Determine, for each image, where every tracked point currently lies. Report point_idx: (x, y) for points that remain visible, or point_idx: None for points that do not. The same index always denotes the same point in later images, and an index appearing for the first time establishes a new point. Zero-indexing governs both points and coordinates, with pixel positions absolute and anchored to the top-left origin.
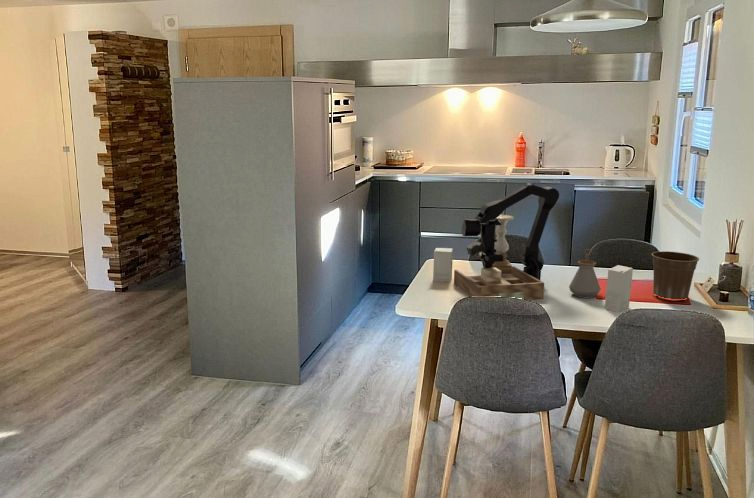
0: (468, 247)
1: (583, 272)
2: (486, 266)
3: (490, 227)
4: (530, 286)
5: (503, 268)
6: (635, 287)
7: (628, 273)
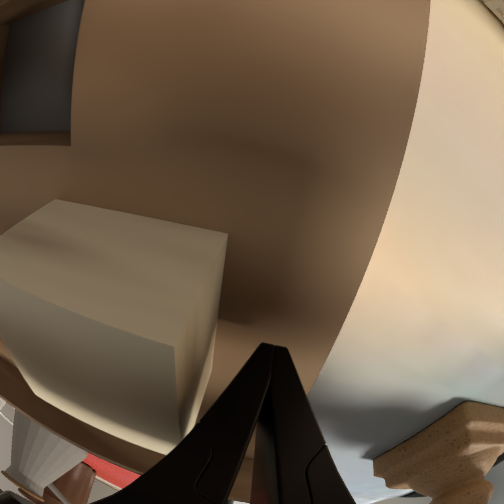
0: None
1: (12, 455)
2: (194, 437)
3: None
4: None
5: (411, 462)
6: (127, 481)
7: None
